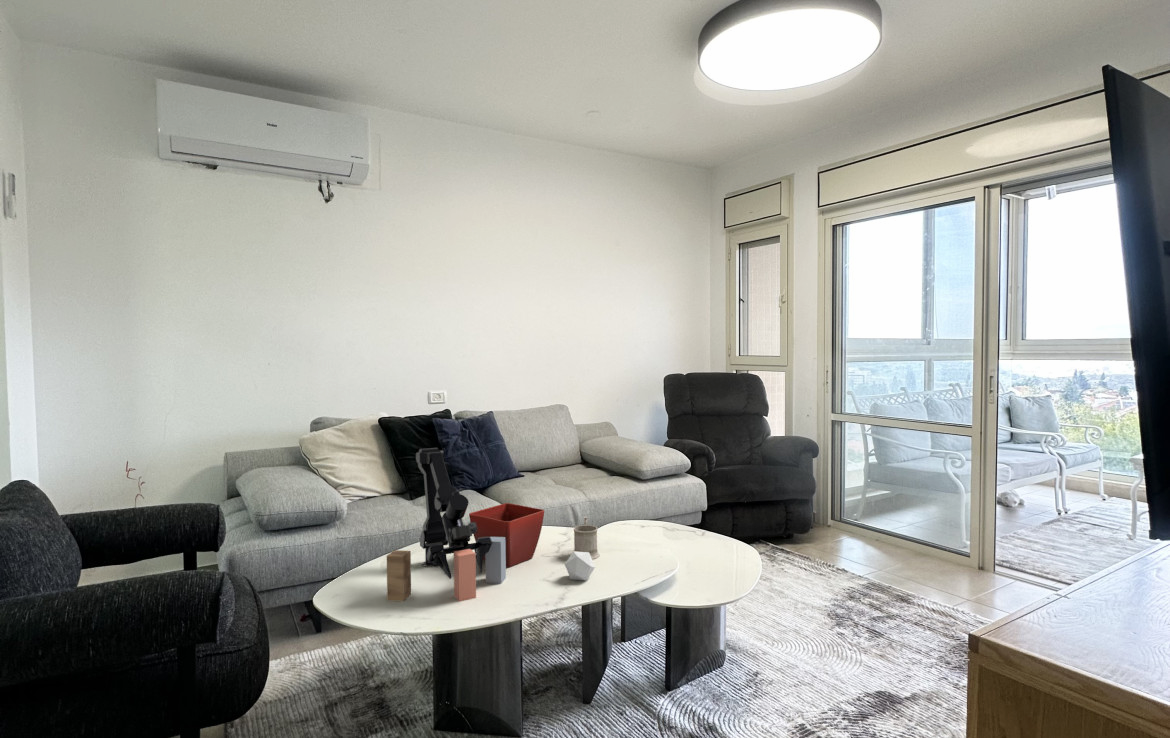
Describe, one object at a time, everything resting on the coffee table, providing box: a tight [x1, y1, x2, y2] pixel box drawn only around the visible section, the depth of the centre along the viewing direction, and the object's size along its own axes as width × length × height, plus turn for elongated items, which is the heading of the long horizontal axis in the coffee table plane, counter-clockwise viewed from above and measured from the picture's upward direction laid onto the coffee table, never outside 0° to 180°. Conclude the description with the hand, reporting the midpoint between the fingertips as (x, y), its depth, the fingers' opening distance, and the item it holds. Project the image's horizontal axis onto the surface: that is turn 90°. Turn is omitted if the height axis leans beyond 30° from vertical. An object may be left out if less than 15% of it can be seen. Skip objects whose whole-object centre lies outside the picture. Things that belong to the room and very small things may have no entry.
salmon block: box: [453, 549, 477, 602], centre depth 177 cm, size 5×5×13 cm
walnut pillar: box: [386, 549, 412, 602], centre depth 177 cm, size 5×5×13 cm
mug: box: [573, 516, 601, 561], centre depth 216 cm, size 14×10×12 cm
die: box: [564, 550, 596, 582], centre depth 191 cm, size 8×9×10 cm
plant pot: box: [468, 502, 545, 568], centre depth 210 cm, size 19×19×17 cm
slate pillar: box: [484, 537, 507, 585], centre depth 190 cm, size 5×5×13 cm
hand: (466, 575), depth 175 cm, fingers open, 9 cm apart
